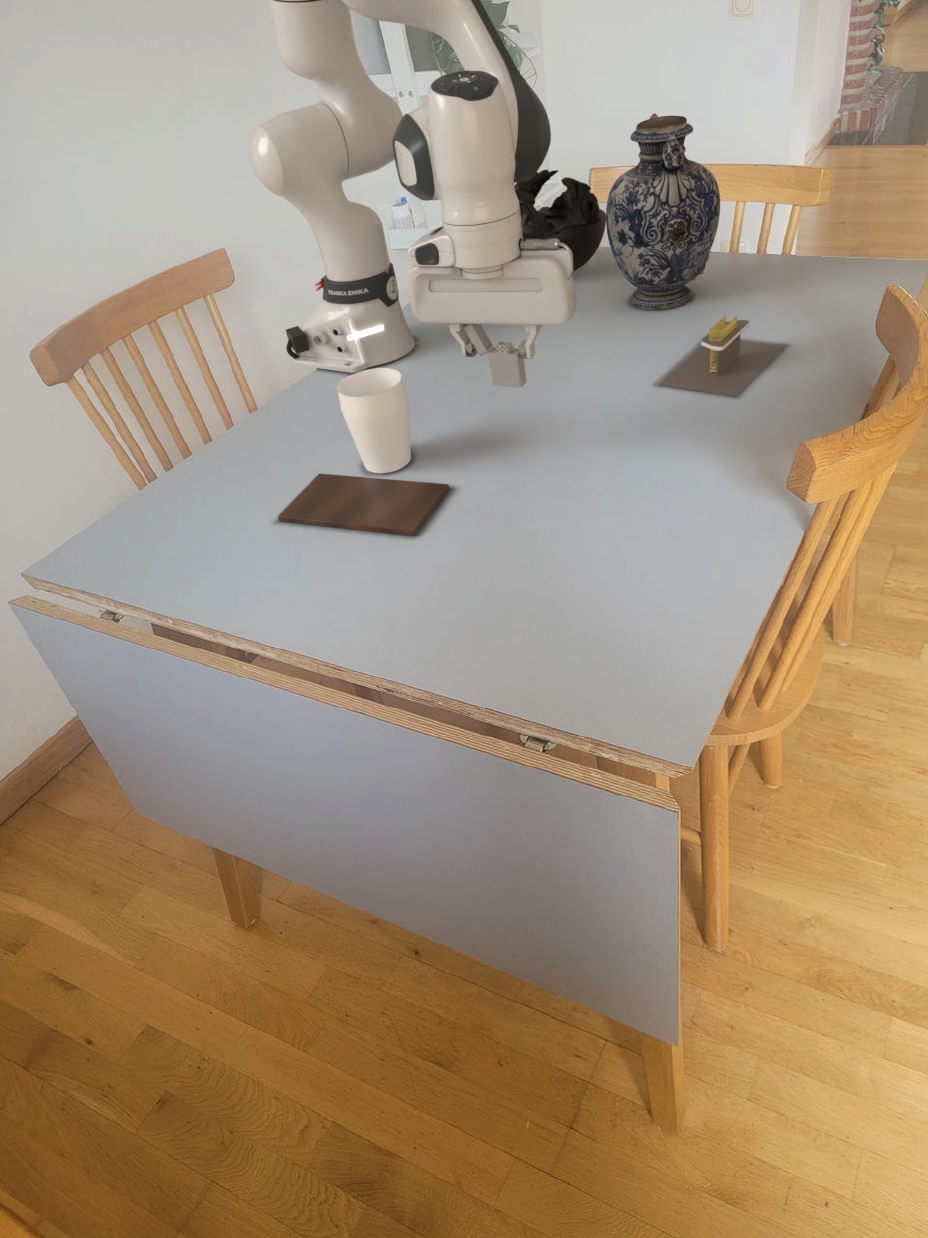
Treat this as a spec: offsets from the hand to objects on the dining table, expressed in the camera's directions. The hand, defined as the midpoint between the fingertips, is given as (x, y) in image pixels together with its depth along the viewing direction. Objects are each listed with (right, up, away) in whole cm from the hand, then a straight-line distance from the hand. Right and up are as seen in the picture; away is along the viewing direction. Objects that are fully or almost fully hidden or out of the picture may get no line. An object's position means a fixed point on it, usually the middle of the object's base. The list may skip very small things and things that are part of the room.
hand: (498, 356), depth 105 cm
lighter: (0, -3, +3) cm, 4 cm away
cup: (-15, -11, +14) cm, 23 cm away
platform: (+34, +5, +22) cm, 41 cm away
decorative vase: (+31, +24, +46) cm, 60 cm away
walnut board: (-17, -18, +6) cm, 26 cm away
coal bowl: (+15, +36, +64) cm, 75 cm away
